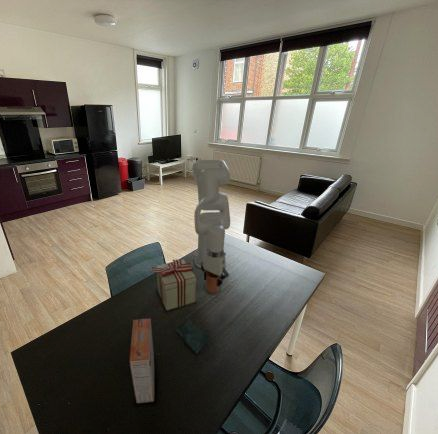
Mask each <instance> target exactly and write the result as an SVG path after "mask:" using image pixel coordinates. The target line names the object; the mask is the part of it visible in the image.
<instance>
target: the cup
mask: <svg viewBox="0 0 438 434" xmlns="http://www.w3.org/2000/svg"><path fill="white" fill-rule="evenodd" d="M218 279H219V278H218V275H216V274H214V273H211V272H209V271H207V272H206V280H205V290H206V291H207V292H208V293H210V294H216V293H218V292H219V291H220V286H219V287H218V286H217V284H218Z"/></svg>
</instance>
